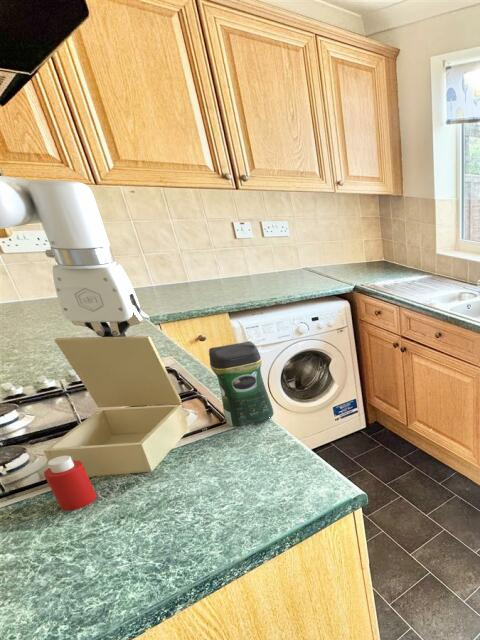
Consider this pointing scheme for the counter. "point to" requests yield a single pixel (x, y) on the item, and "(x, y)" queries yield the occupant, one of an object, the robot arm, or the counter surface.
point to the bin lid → (120, 370)
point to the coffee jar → (241, 383)
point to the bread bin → (123, 439)
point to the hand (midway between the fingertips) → (119, 353)
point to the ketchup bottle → (69, 483)
